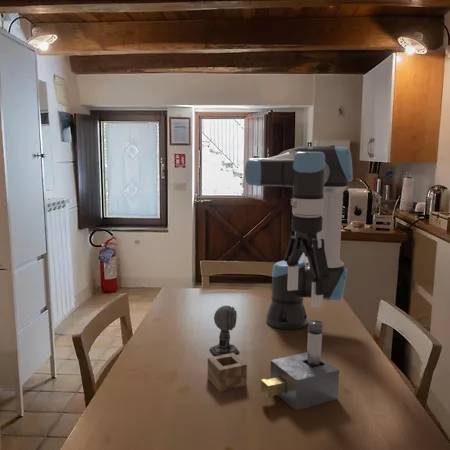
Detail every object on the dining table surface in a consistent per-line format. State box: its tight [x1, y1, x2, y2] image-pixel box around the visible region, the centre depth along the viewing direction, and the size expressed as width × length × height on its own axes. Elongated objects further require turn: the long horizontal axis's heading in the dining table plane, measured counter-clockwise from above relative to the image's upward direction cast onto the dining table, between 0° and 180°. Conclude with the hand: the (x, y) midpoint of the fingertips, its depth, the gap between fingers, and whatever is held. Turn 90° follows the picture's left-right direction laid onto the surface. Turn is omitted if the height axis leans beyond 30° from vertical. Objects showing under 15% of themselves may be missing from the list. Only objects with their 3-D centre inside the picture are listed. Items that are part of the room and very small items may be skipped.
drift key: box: [260, 377, 287, 399], centre depth 117 cm, size 3×9×3 cm, turn 116°
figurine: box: [209, 305, 240, 357], centre depth 144 cm, size 9×10×15 cm
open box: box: [207, 353, 248, 392], centre depth 126 cm, size 8×8×6 cm
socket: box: [269, 351, 340, 412], centre depth 120 cm, size 12×13×8 cm
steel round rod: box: [306, 319, 324, 368], centre depth 120 cm, size 4×4×18 cm
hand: (303, 298), depth 116 cm, fingers open, 13 cm apart
